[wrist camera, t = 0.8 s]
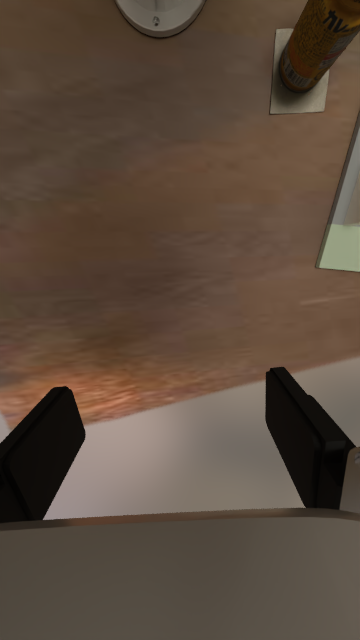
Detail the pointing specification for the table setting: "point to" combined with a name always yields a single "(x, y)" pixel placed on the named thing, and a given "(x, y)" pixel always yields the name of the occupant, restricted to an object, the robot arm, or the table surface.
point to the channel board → (345, 216)
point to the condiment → (311, 54)
